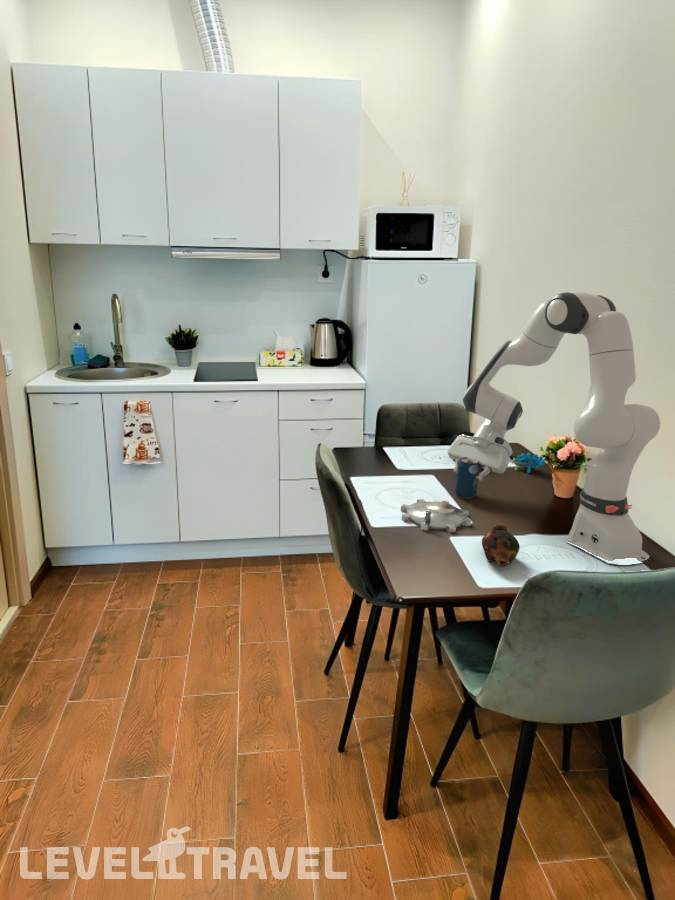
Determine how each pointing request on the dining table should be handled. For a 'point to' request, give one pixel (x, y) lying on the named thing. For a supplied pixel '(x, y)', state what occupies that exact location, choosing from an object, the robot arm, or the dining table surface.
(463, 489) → the soda can
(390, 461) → the dining table surface
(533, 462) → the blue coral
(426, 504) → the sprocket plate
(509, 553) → the decorative turtle
